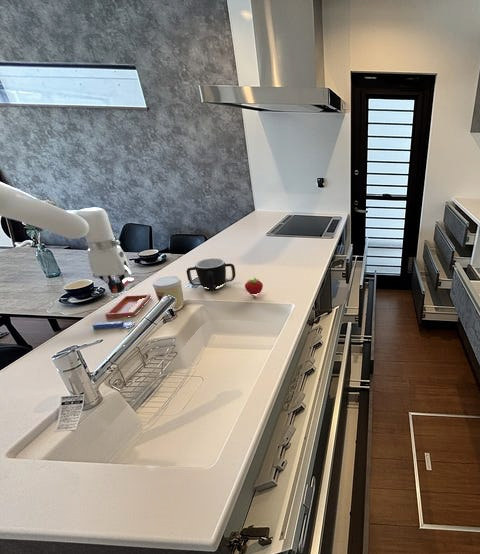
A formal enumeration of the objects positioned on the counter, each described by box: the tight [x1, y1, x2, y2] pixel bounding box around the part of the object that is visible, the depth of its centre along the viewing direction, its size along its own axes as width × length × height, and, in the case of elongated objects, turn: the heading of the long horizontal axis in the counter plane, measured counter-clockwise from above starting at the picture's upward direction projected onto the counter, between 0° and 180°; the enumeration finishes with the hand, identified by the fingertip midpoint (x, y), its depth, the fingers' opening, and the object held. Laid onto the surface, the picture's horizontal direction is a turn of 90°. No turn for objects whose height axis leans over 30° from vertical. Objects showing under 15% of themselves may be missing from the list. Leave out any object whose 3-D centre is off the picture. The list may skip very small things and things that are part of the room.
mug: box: [186, 258, 236, 291], centre depth 140 cm, size 16×16×12 cm
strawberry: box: [244, 277, 264, 295], centre depth 133 cm, size 6×8×10 cm
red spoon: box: [112, 277, 136, 294], centre depth 117 cm, size 12×4×2 cm, turn 13°
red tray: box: [104, 294, 152, 320], centre depth 121 cm, size 9×15×2 cm, turn 13°
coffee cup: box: [152, 276, 185, 311], centre depth 121 cm, size 9×9×12 cm
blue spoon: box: [91, 320, 135, 331], centre depth 109 cm, size 12×4×2 cm, turn 103°
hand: (117, 290), depth 113 cm, fingers closed on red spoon, 1 cm apart
